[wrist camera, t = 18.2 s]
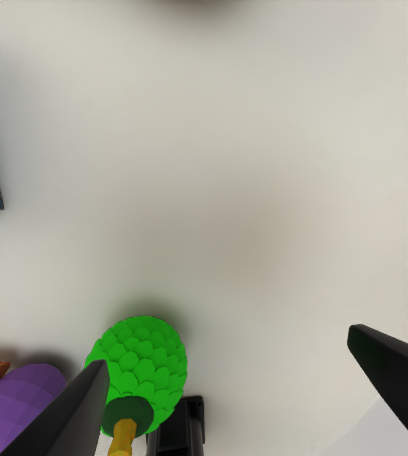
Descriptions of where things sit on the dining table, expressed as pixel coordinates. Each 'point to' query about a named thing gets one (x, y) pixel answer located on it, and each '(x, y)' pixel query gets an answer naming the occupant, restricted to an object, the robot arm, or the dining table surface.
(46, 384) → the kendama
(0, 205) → the bin
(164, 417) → the ornament
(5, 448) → the robot arm
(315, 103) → the dining table surface
